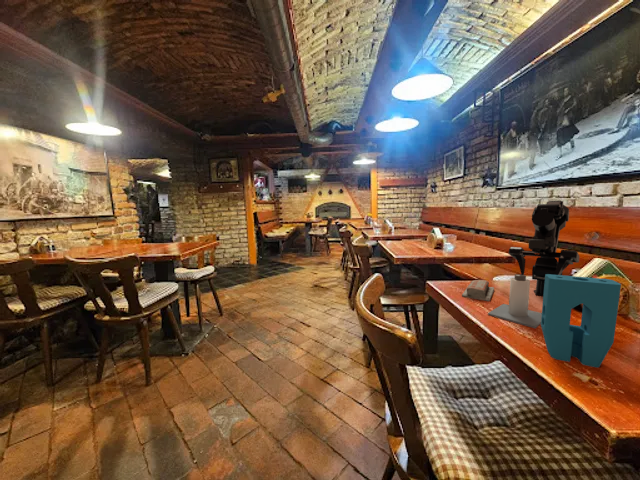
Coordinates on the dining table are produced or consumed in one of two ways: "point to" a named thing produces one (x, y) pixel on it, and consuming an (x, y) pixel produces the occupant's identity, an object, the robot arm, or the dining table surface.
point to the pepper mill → (519, 296)
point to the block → (595, 324)
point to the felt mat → (530, 320)
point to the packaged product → (479, 290)
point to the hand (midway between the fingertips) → (538, 277)
